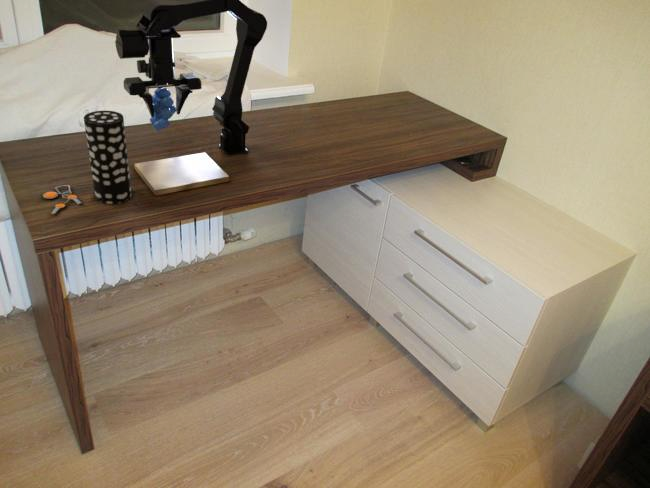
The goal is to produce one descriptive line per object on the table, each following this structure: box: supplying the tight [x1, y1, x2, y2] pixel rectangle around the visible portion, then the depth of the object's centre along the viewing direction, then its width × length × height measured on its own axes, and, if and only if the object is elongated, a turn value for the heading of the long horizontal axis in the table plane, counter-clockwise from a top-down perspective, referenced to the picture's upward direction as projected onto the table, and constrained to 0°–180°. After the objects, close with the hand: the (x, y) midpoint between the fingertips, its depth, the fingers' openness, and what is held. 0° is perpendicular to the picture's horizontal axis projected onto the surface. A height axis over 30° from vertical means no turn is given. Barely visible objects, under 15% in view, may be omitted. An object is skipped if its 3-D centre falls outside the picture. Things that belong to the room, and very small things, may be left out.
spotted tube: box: [83, 110, 132, 205], centre depth 127 cm, size 8×8×20 cm
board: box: [133, 152, 230, 196], centre depth 145 cm, size 20×16×2 cm
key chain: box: [42, 184, 82, 215], centre depth 128 cm, size 13×7×1 cm, turn 31°
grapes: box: [149, 87, 176, 132], centre depth 144 cm, size 12×7×12 cm, turn 34°
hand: (165, 115), depth 145 cm, fingers closed on grapes, 6 cm apart
